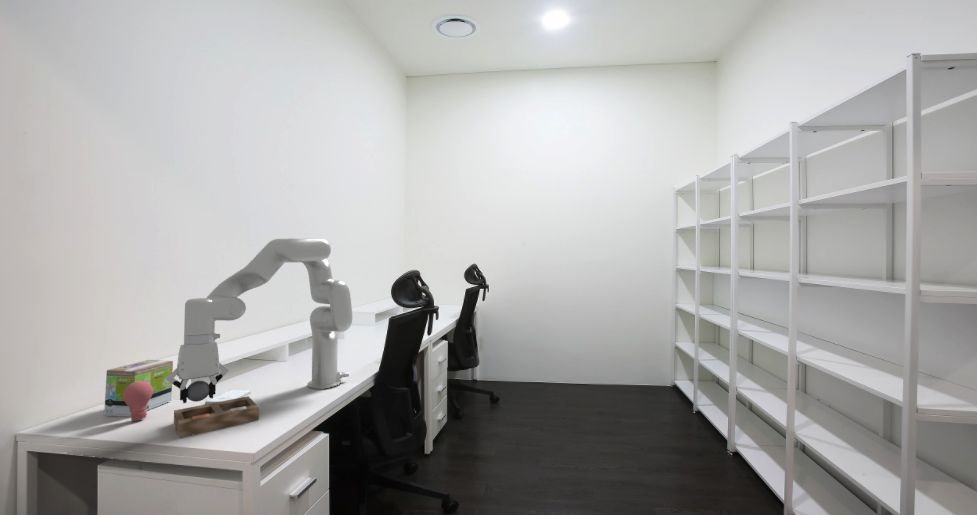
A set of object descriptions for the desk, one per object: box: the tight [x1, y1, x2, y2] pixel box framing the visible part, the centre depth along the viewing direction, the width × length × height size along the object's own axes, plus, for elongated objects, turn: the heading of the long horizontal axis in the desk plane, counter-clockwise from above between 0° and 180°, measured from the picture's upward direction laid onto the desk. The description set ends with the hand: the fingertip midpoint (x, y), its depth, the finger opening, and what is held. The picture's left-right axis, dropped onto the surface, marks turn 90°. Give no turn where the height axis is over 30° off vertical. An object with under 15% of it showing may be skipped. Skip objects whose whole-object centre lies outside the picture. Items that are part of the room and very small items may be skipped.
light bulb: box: [123, 381, 153, 421], centre depth 126 cm, size 7×7×12 cm
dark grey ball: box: [186, 380, 210, 402], centre depth 122 cm, size 6×6×6 cm
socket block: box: [173, 395, 260, 438], centre depth 126 cm, size 20×14×4 cm
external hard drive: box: [204, 389, 252, 405], centre depth 147 cm, size 2×8×12 cm
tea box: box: [103, 359, 174, 418], centre depth 136 cm, size 15×10×15 cm
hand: (197, 399), depth 122 cm, fingers closed on dark grey ball, 5 cm apart
